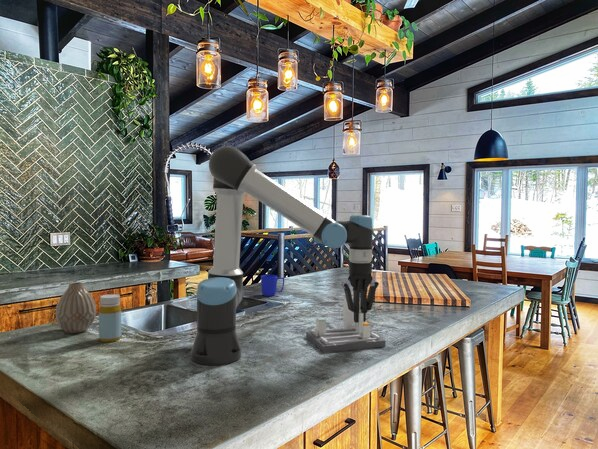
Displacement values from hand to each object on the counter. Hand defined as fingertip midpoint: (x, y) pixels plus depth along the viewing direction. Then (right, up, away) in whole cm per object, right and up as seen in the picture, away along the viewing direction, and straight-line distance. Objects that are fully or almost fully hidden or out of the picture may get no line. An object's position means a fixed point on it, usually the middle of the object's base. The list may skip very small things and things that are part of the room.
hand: (359, 331), depth 149 cm
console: (-5, -4, +4) cm, 7 cm away
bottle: (-85, -4, +3) cm, 85 cm away
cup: (0, -4, +17) cm, 18 cm away
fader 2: (+2, -2, +1) cm, 3 cm away
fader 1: (-13, -2, +6) cm, 14 cm away
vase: (-101, -3, +12) cm, 102 cm away
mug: (-34, -1, +78) cm, 85 cm away
